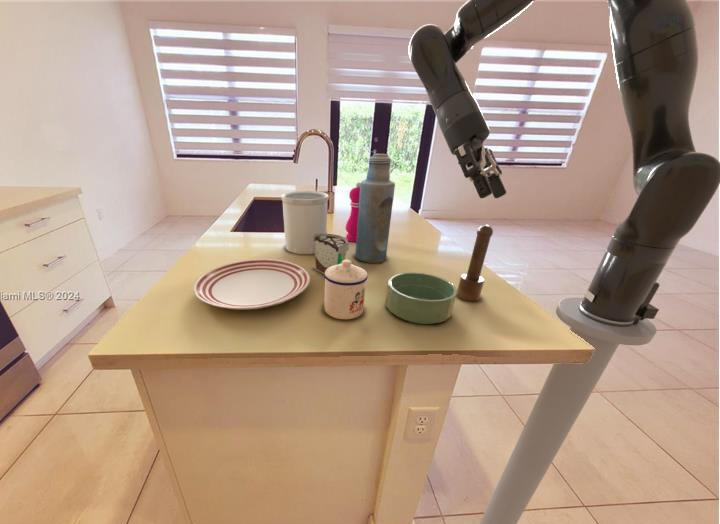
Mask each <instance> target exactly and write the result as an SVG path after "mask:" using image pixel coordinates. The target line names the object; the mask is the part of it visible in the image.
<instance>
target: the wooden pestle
mask: <svg viewBox="0 0 720 524" xmlns="http://www.w3.org/2000/svg"><path fill="white" fill-rule="evenodd" d="M493 234H494V229H493V227H492V226H490V225H488V224H483V225H480V226H479V227H478V228H477V229H476V238H475V241H474V245H473V249H472V253H471V257H470V260H469V264H468V269H467V273H461V275H460V278H459V281H458V285H457V288H456V289H457V294H456V297H458V298H459V299H460V300H463V301H467V302H476V301H479V300H480V297H481V294H482V291H483V287H484V284H485V278H484V277H483V276H482V275H481V274H482V270H483V266H484V263H485V259H486V255H487V253H488V248H489V245H490V241H491V238H492V236H493Z"/></svg>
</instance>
